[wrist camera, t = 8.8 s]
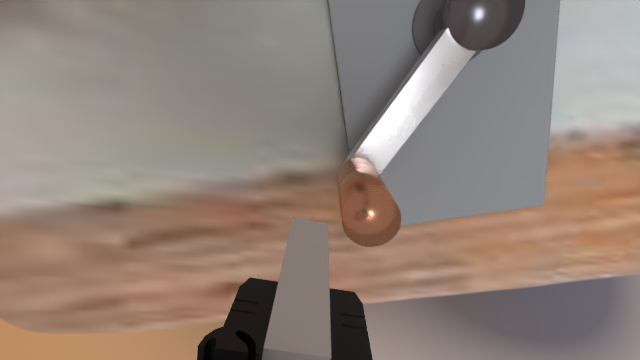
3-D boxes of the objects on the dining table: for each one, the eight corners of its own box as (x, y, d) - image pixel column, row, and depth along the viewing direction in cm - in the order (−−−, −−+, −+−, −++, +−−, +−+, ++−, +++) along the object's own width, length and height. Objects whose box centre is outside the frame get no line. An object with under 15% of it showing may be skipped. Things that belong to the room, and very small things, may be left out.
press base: (317, -75, 22) (316, -112, 18) (554, -124, 21) (612, -176, 17) (358, 224, 30) (364, 248, 26) (533, 199, 29) (569, 219, 25)
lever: (505, -98, 20) (707, -294, 9) (551, -54, 21) (784, -189, 10) (320, 163, 26) (319, 220, 15) (362, 190, 26) (387, 262, 16)
